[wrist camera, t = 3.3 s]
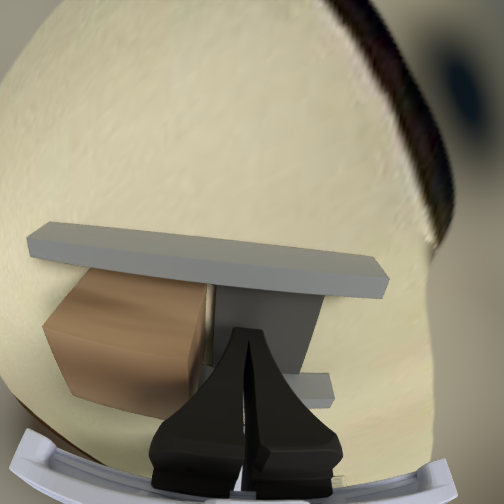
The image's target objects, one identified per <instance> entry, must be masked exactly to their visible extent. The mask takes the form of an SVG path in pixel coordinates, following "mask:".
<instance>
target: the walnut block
mask: <svg viewBox="0 0 504 504" xmlns="http://www.w3.org/2000/svg"><path fill="white" fill-rule="evenodd" d="M206 290H207V283H200V282H191V281H183V280H176V279H168V278H160V277H153V276H146V275H139V274H132V273H125V272H118V271H111V270H105V269H98V268H91V269H90V270H89V271H88V272H87V273H86V274H85V276H84V277H83V278H82V279H81V280H80V281H79V282H78V283H77V285H76V286H75V287H74V288H73V289H72V290H71V292H70V293H69V294H68V295H67V296H66V298H65V299H64V300H63V301H62V302H61V304H60V305H59V306H58V307H57V308H56V310H55V311H54V312H53V313H52V315H51V316H50V317H49V318H48V320H47V321H46V322H45V323H44V325H43V326H42V328H43V330H44V333H45V335H46V338H47V341H48V343H49V345H50V348H51V350H52V353H53V355H54V357H55V360H56V362H57V364H58V366H59V368H60V371H61V373H62V375H63V377H64V379H65V381H66V383H67V385H68V387H69V389H70V391H71V393H72V395H74V396H76V397H79V398H82V399H85V400H89V401H92V402H95V403H98V404H102V405H105V406H108V407H112V408H116V409H119V410H123V411H127V412H131V413H135V414H140V415H144V416H149V417H153V418H158V419H163V420H166V419H167V418H169V417H170V416H171V415H173V414H174V413H175V412H176V411H178V410H179V409H180V408H181V407H182V406H183V405H184V404H185V403H186V402H187V401H188V400H189V399H190V398H191V397H192V396H193V395H194V394H195V393H196V392H197V388H198V383H199V377H200V372H201V366H202V361H203V355H204V348H205V314H206Z"/></svg>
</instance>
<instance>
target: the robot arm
mask: <svg viewBox="0 0 504 504" xmlns="http://www.w3.org/2000/svg"><path fill="white" fill-rule="evenodd" d="M243 396H244V413H245V426H244V420H243ZM149 458H150V460H151V463H152V465H153V467H154V470H153V475H152V479H151V478H146V477H142V476H138V475H134V474H131V473H127V472H124V471H120V470H117V469H113V468H110V467H107V466H104V465H101V464H98V463H95V462H92V461H90V460H87V459H84V458H82V457H79V456H76V455H74V454H71V453H69V452H67V451H64V450H62V449H60V448H57V447H56V445H55V444H54V443H53V442H52V441H51V440H50V439H48V438H47V437H45V436H43V435H41V434H39V433H37V432H35V431H33V430H31V429H29V428H27V429H26V431H25V433H24V435H23V437H22V439H21V441H20V444H19V446H18V448H17V450H16V453H15V455H14V457H13V459H12V462H11V464H10V467H9V469H10V470H11V471H12V472H13V473H15V474H16V475H17V476H19V477H20V478H21V479H23V480H24V481H25V482H27V483H28V484H29V485H31V486H32V487H34V488H35V489H37V490H39V491H41V492H42V493H44V494H46V495H48V496H50V497H52V498H54V499H56V500H58V501H60V502H62V503H64V504H445V503H447V502H449V501H451V500H452V499H454V498H456V497H457V491H456V488H455V485H454V482H453V479H452V476H451V473H450V470H449V467H448V465H447V462H446V459H445V458H441V459H439V460H435V461H432V462H429V463H427V464H425V465H423V466H421V467H420V468H419V469H418V470H417V471H415V472H412V473H408V474H404V475H401V476H397V477H393V478H388V479H384V480H379V481H375V482H370V483H364V484H359V485H352V486H346V487H339V488H332V481H331V479H332V478H333V470H332V469H333V468H334V467H335V466H336V465H337V464H338V463H339V462H340V461H341V459H342V458H343V452H342V447H341V444H340V442H339V439H338V437H337V434H336V433H334V432H333V431H332V430H331V429H329V428H328V427H327V426H325V425H324V424H323V423H322V422H321V421H320V420H319V419H318V418H317V417H316V416H315V415H313V413H312V412H311V411H310V410H309V409H308V408H307V407H306V406H305V405H304V404H303V403H302V401H301V400H300V399H299V398H298V397H297V395H296V394H295V393H294V391H293V390H292V389H291V387H290V386H289V384H288V383H287V381H286V380H285V378H284V376H283V375H282V373H281V371H280V369H279V368H278V366H277V364H276V362H275V360H274V358H273V356H272V353H271V351H270V349H269V346H268V344H267V341H266V338H265V335H264V331H263V330H262V329H252V328H242V327H234V328H233V329H232V334H231V337H230V340H229V342H228V345H227V347H226V349H225V351H224V353H223V355H222V357H221V359H220V360H219V362H218V363H217V365H216V367H215V368H214V370H213V371H212V373H211V374H210V376H209V377H208V378H207V380H206V381H205V382H204V384H203V385H202V386H201V387H200V388H199V390H198V391H197V392H196V393H195V394H194V395H193V396H192V397H191V398H190V399H189V400H188V401H187V402H186V403H185V404H184V405H183V406H182V407H181V408H180V409H179V410H178V411H176V412H175V413H174V414H173V415H171V416H170V417H169V418H167V419H166V420H165V421H164V422H162V424H161V425H160V427H159V428H158V430H157V432H156V433H155V435H154V437H153V440H152V442H151V446H150V450H149Z"/></svg>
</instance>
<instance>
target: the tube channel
mask: <svg viewBox="0 0 504 504" xmlns="http://www.w3.org/2000/svg"><path fill="white" fill-rule="evenodd" d="M26 238H27V243H28V248H29V253H30V257H33V258H39V259H44V260H50V261H56V262H62V263H67V264H73V265H80V266H86V267H92V268H98V269H105V270H111V271H118V272H125V273H132V274H139V275H146V276H153V277H160V278H168V279H176V280H183V281H191V282H200V283H208V284H217V290H216V306H215V322H214V341H213V361H212V366H206V365H202V366H201V372H200V377H199V383H198V388H197V391H198V390H199V388H200V387H201V386H202V385H203V384H204V382H205V381H206V380H207V378H208V377H209V376H210V374H211V373H212V371H213V370H214V368H215V367H216V365H217V363H218V362H219V360H220V359H221V357H222V355H223V353H224V351H225V349H226V347H227V345H228V342H229V340H230V337H231V334H232V329H233V328H234V327H242V328H252V329H262V330H263V331H264V335H265V338H266V341H267V344H268V346H269V349H270V351H271V353H272V356H273V358H274V360H275V362H276V364H277V366H278V368H279V369H280V371H281V373H282V375H283V376H284V378H285V380H286V381H287V383H288V384H289V386H290V387H291V389H292V390H293V391H294V393H295V394H296V395H297V397H298V398H299V399H300V400H301V401H302V403H303V404H304V405H305V406H306V407H307V408H308V409H314V408H330V407H331V405H332V403H333V401H334V399H335V397H334V392H333V388H332V384H331V380H330V376H329V373H299V372H300V369H301V367H302V364H303V361H304V358H305V355H306V352H307V349H308V346H309V343H310V340H311V337H312V334H313V331H314V328H315V325H316V322H317V319H318V316H319V312H320V309H321V306H322V303H323V299H324V296H325V295H330V296H343V297H357V298H372V299H382V298H383V295H384V293H385V290H386V288H387V285H388V282H389V280H390V279H389V277H388V276H387V274H386V273H385V272H384V270H383V269H382V268H381V266H380V265H379V264H378V262H377V261H376V260H375V258H374V257H370V256H362V255H354V254H346V253H337V252H329V251H320V250H312V249H303V248H295V247H286V246H277V245H268V244H260V243H251V242H242V241H233V240H224V239H215V238H205V237H196V236H187V235H177V234H168V233H158V232H149V231H139V230H129V229H119V228H109V227H99V226H89V225H79V224H68V223H58V222H48V223H47V224H45V225H44V226H42V227H41V228H39V229H38V230H36V231H35V232H33V233H32V234H31V235H29V236H28V237H26ZM243 406H244V396H243Z"/></svg>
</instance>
